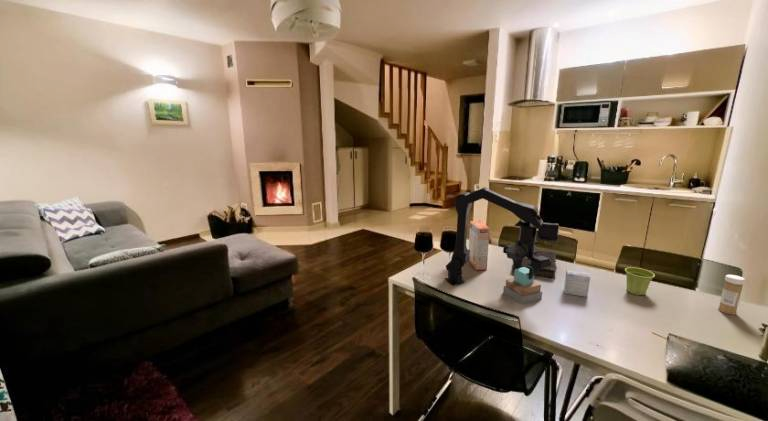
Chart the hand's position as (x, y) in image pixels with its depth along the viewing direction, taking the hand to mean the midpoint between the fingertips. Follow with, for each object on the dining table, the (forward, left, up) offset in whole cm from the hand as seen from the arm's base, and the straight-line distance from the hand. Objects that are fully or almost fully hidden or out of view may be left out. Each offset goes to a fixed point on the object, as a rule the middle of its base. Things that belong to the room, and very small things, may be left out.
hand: (523, 276), depth 125 cm
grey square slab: (0, 0, -9) cm, 9 cm away
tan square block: (0, 0, -6) cm, 6 cm away
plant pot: (+16, +44, -9) cm, 48 cm away
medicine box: (+7, +21, -9) cm, 24 cm away
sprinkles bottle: (+38, +57, -9) cm, 69 cm away
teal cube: (0, 0, -3) cm, 3 cm away
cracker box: (-33, +4, -9) cm, 34 cm away
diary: (-20, +28, -9) cm, 36 cm away
